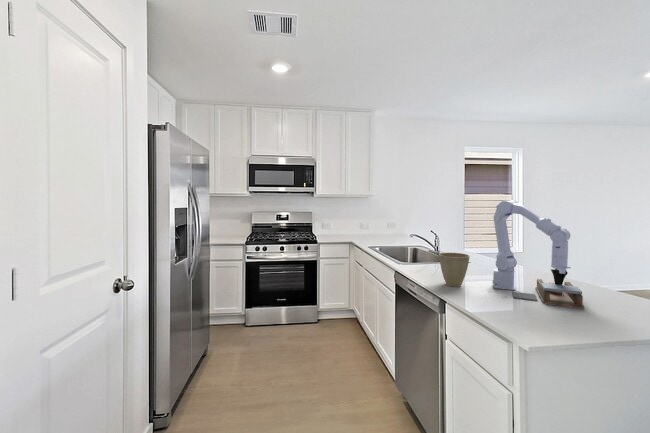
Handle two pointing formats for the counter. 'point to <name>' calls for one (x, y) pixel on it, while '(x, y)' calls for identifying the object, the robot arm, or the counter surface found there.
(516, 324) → the counter surface
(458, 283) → the plant pot
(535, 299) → the mat
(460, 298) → the counter surface
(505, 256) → the robot arm
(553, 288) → the lid
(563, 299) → the brown tray
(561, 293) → the block
